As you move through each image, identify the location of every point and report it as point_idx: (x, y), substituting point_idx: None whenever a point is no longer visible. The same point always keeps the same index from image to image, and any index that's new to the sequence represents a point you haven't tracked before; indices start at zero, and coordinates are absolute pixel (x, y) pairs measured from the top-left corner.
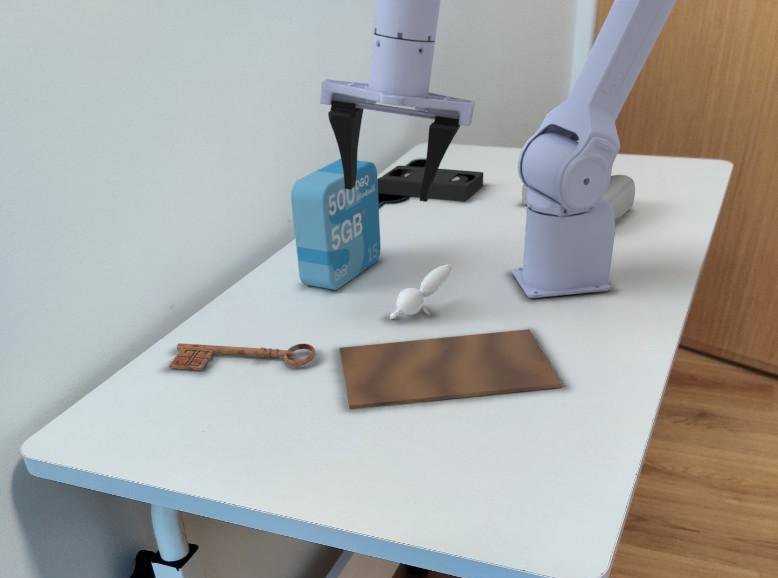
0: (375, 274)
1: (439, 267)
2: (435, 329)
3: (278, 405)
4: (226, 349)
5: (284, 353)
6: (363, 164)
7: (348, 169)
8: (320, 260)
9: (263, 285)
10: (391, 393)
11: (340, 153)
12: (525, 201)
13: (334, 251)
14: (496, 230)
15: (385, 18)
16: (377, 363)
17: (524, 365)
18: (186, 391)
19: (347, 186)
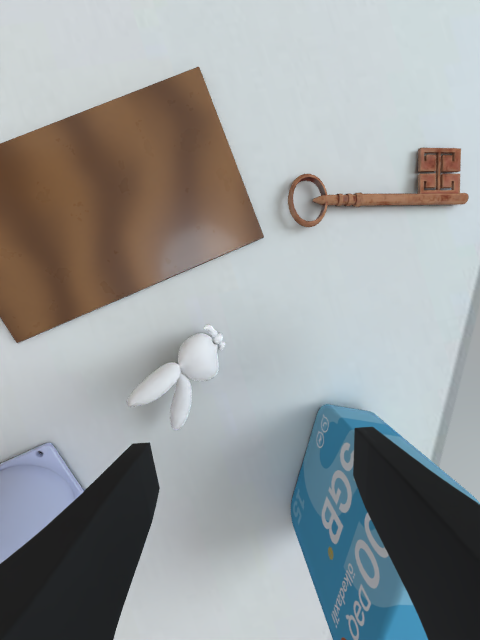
0: (282, 467)
1: (147, 395)
2: (155, 326)
3: (294, 70)
4: (404, 194)
5: (328, 195)
6: None
7: (398, 461)
8: (355, 422)
9: (411, 403)
10: (152, 110)
11: (477, 503)
12: None
13: (342, 442)
14: (161, 633)
15: None
16: (198, 198)
17: None
18: (418, 93)
19: (369, 431)
